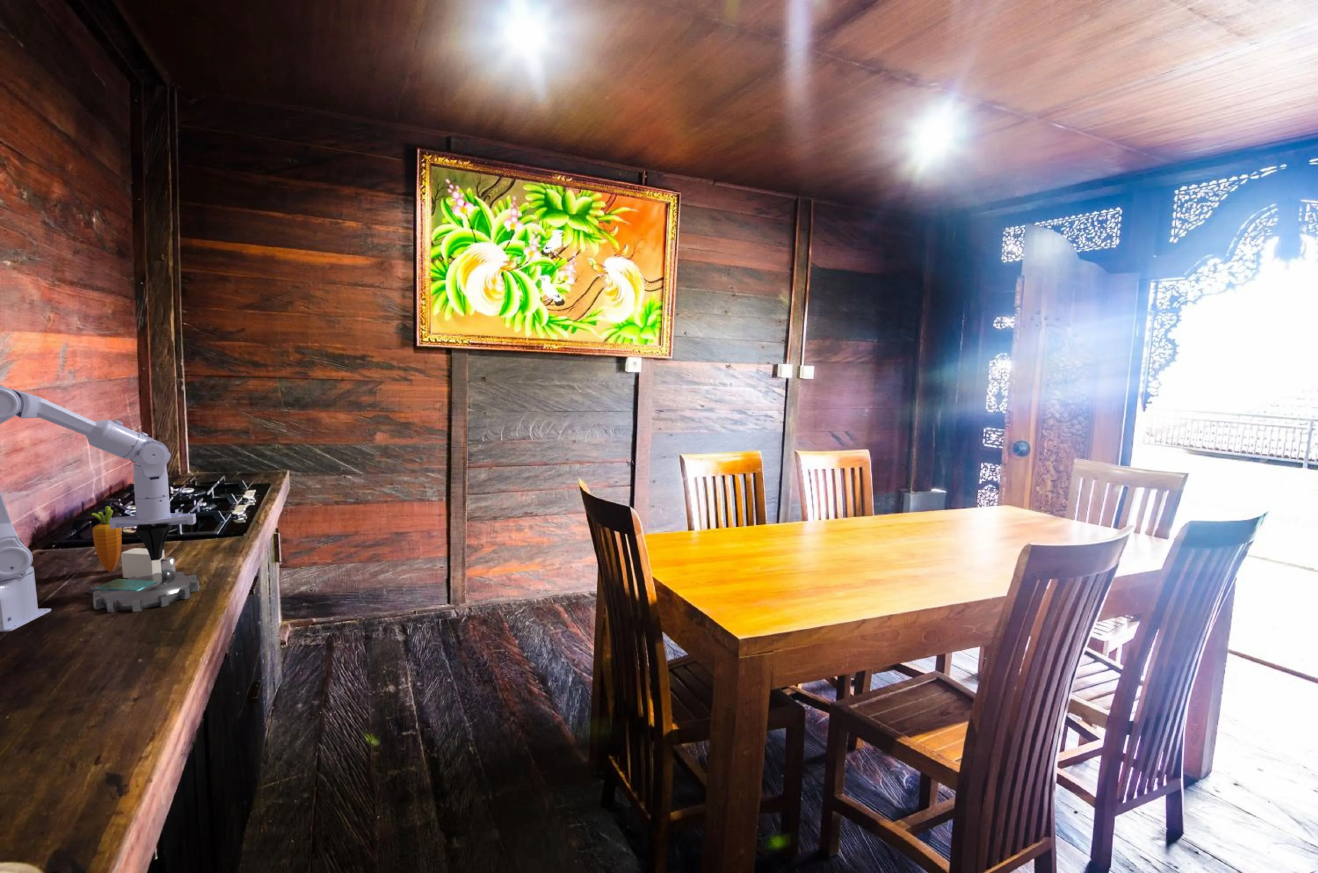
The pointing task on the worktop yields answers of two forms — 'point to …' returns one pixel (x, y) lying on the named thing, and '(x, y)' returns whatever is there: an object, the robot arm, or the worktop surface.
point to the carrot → (107, 540)
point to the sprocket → (146, 590)
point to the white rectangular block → (139, 563)
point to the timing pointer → (91, 590)
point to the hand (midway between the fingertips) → (156, 559)
